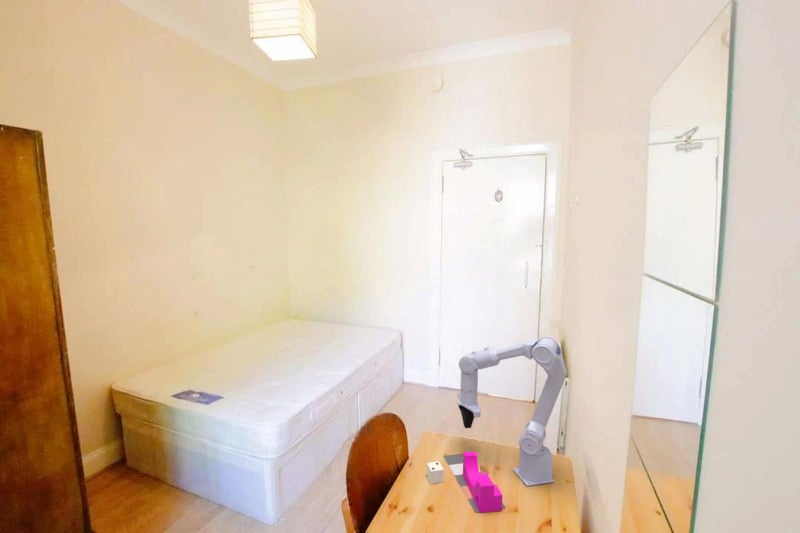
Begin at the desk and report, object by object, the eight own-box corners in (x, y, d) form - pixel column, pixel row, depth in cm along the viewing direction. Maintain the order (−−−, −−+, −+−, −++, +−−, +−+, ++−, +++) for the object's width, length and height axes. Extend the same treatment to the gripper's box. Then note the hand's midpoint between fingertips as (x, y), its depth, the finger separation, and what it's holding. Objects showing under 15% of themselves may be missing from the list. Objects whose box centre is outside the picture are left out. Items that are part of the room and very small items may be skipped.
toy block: (501, 510, 94) (502, 484, 93) (479, 512, 93) (480, 486, 92) (481, 473, 109) (482, 451, 108) (462, 475, 108) (463, 452, 107)
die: (438, 473, 108) (439, 461, 108) (443, 482, 105) (443, 469, 104) (426, 475, 108) (427, 462, 107) (430, 483, 104) (431, 471, 103)
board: (467, 454, 119) (467, 452, 119) (505, 509, 95) (505, 507, 95) (443, 457, 117) (443, 455, 117) (475, 514, 93) (475, 512, 93)
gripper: (450, 381, 124) (448, 417, 125) (466, 399, 109) (465, 440, 111) (468, 379, 125) (467, 415, 126) (487, 397, 111) (485, 437, 112)
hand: (467, 427), depth 118 cm, fingers closed
